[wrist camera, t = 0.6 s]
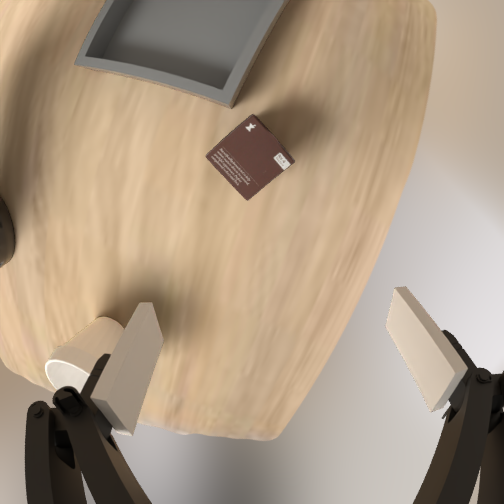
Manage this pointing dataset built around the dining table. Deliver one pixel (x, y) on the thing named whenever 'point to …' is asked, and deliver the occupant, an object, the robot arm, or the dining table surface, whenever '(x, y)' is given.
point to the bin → (182, 43)
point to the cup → (82, 353)
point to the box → (250, 157)
